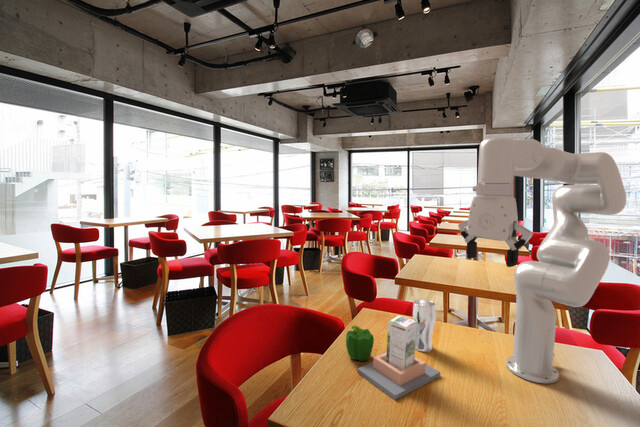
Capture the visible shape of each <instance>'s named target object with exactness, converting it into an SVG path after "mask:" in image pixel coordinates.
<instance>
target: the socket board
mask: <svg viewBox="0 0 640 427" xmlns="http://www.w3.org/2000/svg"><path fill="white" fill-rule="evenodd" d="M386 356H387V351H386V352H383V353H381V354H378V355H376V356H373V358H372V360H373V361H372V362H370V363H367V364H365V365H363V366H360V367H358V368H357V373H358V374H359V375H360V376H362V377H363V378H365V380H367V381H368V382H370V383H371V384H373V385H374V386H375V387H377V389H379V390H381V391H382V392H383V393H385V394H386V395H388V396H389V397H390V398H391V399H393V400H395V401H396V400H398V399H400V398H403V396H406V395H408V394H409V393H411V392H412V391H414V390H417V389H418V388H420V387H422V386H424V385H426V384H428V383H430V382H432V381H434V380H436V379H437V378H439V377H441V371H439V370H438V369H436V368H434V367H433V366H430V365H429V364H427V363H426V362H425V361H423V360H422V359H420V358H418V357H416V356H414V365H412V366H410V367H407V368H405V369H403V370H401V371H400V370H398V369H396V368H395V367H393V366H392V365H390V364H388V363H387V362H386Z"/></svg>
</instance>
